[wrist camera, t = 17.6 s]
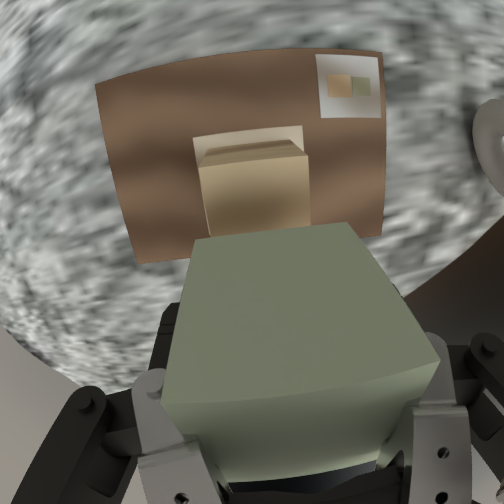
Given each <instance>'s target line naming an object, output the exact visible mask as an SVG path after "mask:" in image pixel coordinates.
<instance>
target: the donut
mask: <svg viewBox="0 0 504 504" xmlns="http://www.w3.org/2000/svg"><path fill="white" fill-rule="evenodd" d="M472 134H473V143H474V147H475V151H476V155H477V158H478V160H479V163H480V165H481V167H482V170H483V171H484V173H485V175H486V176H487V178H488V180H489V182H490V183H491V184H492V185H493V186H494V188H495V189H496V190H497V191H498V192H499V193H500V194H501V195H502V196H504V147H503V143H502V137H503V136H504V99H490V100H488V101H487V102H485V103H484V104H482V105H481V106H480V107H479V109H478V111H477V113H476V115H475V117H474V119H473V128H472Z"/></svg>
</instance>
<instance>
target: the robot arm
mask: <svg viewBox="0 0 504 504" xmlns="http://www.w3.org/2000/svg"><path fill="white" fill-rule="evenodd" d="M392 284H393V283H392ZM393 285H394V284H393ZM394 287H395V285H394ZM395 288H396V287H395ZM396 290H397V288H396ZM397 291H398V290H397ZM182 292H183V291H182ZM398 293H399V291H398ZM399 294H400V293H399ZM181 297H182V295H181ZM401 297H402V296H401ZM402 299H403V297H402ZM403 300H404V299H403ZM180 301H181V300H180ZM404 302H405V300H404ZM406 305H407V304H406ZM179 306H180V302H178V303H171V304H170V305H169V306H168V307H167V309H166V310H165V311H164V312H163V314H162V317H161V321H160V327H159V329H158V333H157V336H156V340H155V344H154V348H153V352H152V356H151V360H150V364H149V369H148V371H146V372H144V373H142V374H141V375H140V376H139V377H138V378H137V379H136V380H135V382H134V383H133V386H132V388H131V389H128V390H125V391H121V392H117V393H113V394H109V395H105V393H104V392H103V391H102V390H101V389H100V388H98V387H96V386H85V387H82V388H79V389H78V390H76V391H75V392H74V393H73V394H72V395H71V396H70V398H69V399H68V401H67V402H66V404H65V405H64V407H63V409H62V410H61V412H60V414H59V415H58V417H57V419H56V420H55V422H54V424H53V425H52V427H51V429H50V430H49V432H48V434H47V436H46V438H45V439H44V441H43V443H42V444H41V447H40V448H39V450H38V452H37V453H36V455H35V457H34V459H33V461H32V463H31V464H30V467H29V468H28V470H27V472H26V474H25V476H24V478H23V480H22V482H21V484H20V486H19V488H18V490H17V492H16V494H15V496H14V498H13V500H12V502H11V504H121V502H122V499H123V497H124V495H125V492H126V490H127V488H128V485H129V483H130V480H131V478H132V476H133V473H134V471H135V469H136V466H137V464H138V468H139V473H140V476H141V481H142V484H143V488H144V492H145V495H146V499H147V502H148V504H480V503H478V502H476V501H474V500H472V456H471V444H472V445H473V446H474V448H475V449H476V450H477V451H478V453H479V454H480V455H481V457H482V458H483V459H484V461H485V462H486V464H487V465H488V466H489V467H490V469H491V470H492V472H493V473H494V474H495V476H496V477H497V479H498V480H499V481H500V483H501V485H500V489H499V490H498V491H497V494H496V499H497V501H498V502H503V504H504V416H503V415H502V414H501V412H500V411H499V410H498V409H497V408H496V406H495V405H494V404H493V403H492V402H491V401H490V400H489V398H488V397H487V396H486V395H485V394H484V393H483V391H484V390H485V389H486V388H487V389H488V390H489V392H490V393H491V394H492V395H493V396H494V397H495V398H496V399H497V401H498V402H499V403H500V404H501V405H502V406H503V407H504V342H503V341H502V340H501V339H499V338H498V337H497V336H495V335H493V334H491V333H487V332H482V333H478V334H476V335H475V336H474V337H473V338H472V340H471V342H470V344H469V345H446V344H445V342H444V341H443V340H442V339H441V338H440V337H438V336H437V335H435V334H432V333H429V332H425V331H424V330H423V328H422V327H421V328H422V330H423V331H424V333H425V335H426V336H427V338H428V339H429V341H430V343H431V344H432V346H433V348H434V349H435V351H436V353H437V355H438V356H439V358H440V360H441V361H440V363H439V365H438V367H437V369H436V371H435V373H434V375H433V377H432V379H431V381H430V382H429V384H428V386H427V388H426V390H425V392H424V393H423V395H422V397H419V398H416V399H413V400H410V401H407V402H406V403H405V405H404V407H403V409H402V411H401V415H400V421H399V424H398V427H397V429H396V430H395V432H394V433H393V435H392V437H390V438H386V439H385V440H384V441H383V443H382V445H381V449H380V453H379V456H378V459H377V462H376V467H375V471H373V472H370V473H366V474H363V475H359V476H356V477H354V478H352V479H350V480H348V481H346V482H344V483H342V484H340V485H338V486H335V487H333V488H331V489H329V490H326V491H324V492H322V493H319V494H300V493H288V492H278V491H263V492H249V493H248V492H247V493H232V491H231V489H230V487H229V486H228V483H227V481H226V480H225V478H224V476H223V474H222V472H221V470H220V468H219V467H218V465H214V463H213V462H212V460H211V459H210V458H209V456H208V454H207V452H206V450H205V448H204V446H203V443H202V442H201V440H200V438H199V437H198V435H197V434H181V433H180V432H179V430H178V429H177V427H176V426H175V425H174V423H173V422H172V420H171V419H170V417H169V416H168V414H167V413H166V411H165V410H164V408H163V407H162V405H161V403H160V402H161V396H162V391H163V385H164V380H165V374H166V369H167V364H168V358H169V353H170V348H171V343H172V338H173V333H174V329H175V324H176V319H177V315H178V310H179ZM407 306H408V305H407ZM408 308H409V306H408ZM409 309H410V308H409ZM410 311H411V309H410ZM411 312H412V311H411ZM412 314H413V313H412ZM413 315H414V314H413ZM414 317H415V316H414ZM415 319H416V317H415ZM416 320H417V319H416ZM417 322H418V320H417ZM418 323H419V322H418ZM419 325H420V323H419ZM420 326H421V325H420Z"/></svg>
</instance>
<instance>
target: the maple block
mask: <svg viewBox="0 0 504 504" xmlns="http://www.w3.org/2000/svg"><path fill="white" fill-rule="evenodd" d="M198 170H199V176H200V181H201V187H202V193H203V198H204V204H205V210H206V215H207V220H208V226H209V231H210V236H211V237H219V236H227V235H235V234H244V233H252V232H260V231H269V230H278V229H286V228H295V227H304V226H311V213H310V185H309V164H308V155H307V154H306V153H305V152H303V151H302V150H301V149H300V148H299V147H298V146H297V145H296V144H294V143H293V142H292V141H291V140H290V139H289V140H277V141H266V142H257V143H248V144H239V145H231V146H224V147H216V148H209V149H208V150H207V152H206V154H205V156H204V158H203V159H202V161H201V163H200V165H199V167H198Z"/></svg>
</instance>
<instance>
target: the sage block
mask: <svg viewBox="0 0 504 504" xmlns="http://www.w3.org/2000/svg"><path fill="white" fill-rule="evenodd" d="M440 361H441V360H440V358H439V356H438V355H437V353H436V351H435V349H434V348H433V346H432V344H431V343H430V341H429V339H428V338H427V336H426V335H425V333H424V331H423V330H422V328H421V326H420V325H419V323H418V322H417V320H416V319H415V317H414V315H413V314H412V312H411V311H410V309H409V308H408V306H407V305H406V303H405V302H404V300H403V299H402V297H401V296H400V294H399V293H398V291H397V290H396V288H395V287H394V285H393V284H392V282H391V281H390V279H389V278H388V277H387V275H386V274H385V272H384V271H383V269H382V268H381V267H380V265H379V264H378V262H377V261H376V260H375V258H374V257H373V256H372V254H371V253H370V251H369V250H368V249H367V247H366V246H365V245H364V243H363V242H362V241H361V239H360V238H359V237H358V235H357V234H356V233H355V231H354V230H353V229H352V228H351V226H350V225H349V224H348V222H341V223H332V224H323V225H313V226H304V227H295V228H286V229H278V230H269V231H260V232H252V233H244V234H235V235H227V236H219V237H211V238H203V239H195V243H194V247H193V251H192V255H191V259H190V263H189V267H188V271H187V275H186V279H185V284H184V288H183V292H182V297H181V301H180V306H179V310H178V315H177V319H176V324H175V329H174V333H173V338H172V343H171V348H170V353H169V358H168V364H167V369H166V374H165V380H164V385H163V391H162V396H161V402H160V403H161V405H162V407H163V408H164V410H165V411H166V413H167V414H168V416H169V417H170V419H171V420H172V422H173V423H174V425H175V426H176V427H177V429H178V430H179V432H180V433H181V434H197V435H198V437H199V438H200V440H201V442H202V443H203V446H204V448H205V450H206V452H207V454H208V456H209V458H210V459H211V460H212V462H213V463H214V465H218V467H219V468H220V470H221V472H222V474H223V476H224V478H225V480H226V481H227V482H244V481H259V480H271V479H280V478H289V477H296V476H302V475H309V474H315V473H321V472H326V471H331V470H336V469H340V468H345V467H349V466H353V465H357V464H362V463H365V462H369V461H372V460H376V459H378V456H379V453H380V449H381V445H382V443H383V441H384V440H385V439H386V438H390V437H392V435H393V433H394V432H395V430H396V429H397V427H398V424H399V421H400V415H401V411H402V409H403V407H404V405H405V403H406V402H407V401H410V400H413V399H416V398H419V397H422V395H423V393H424V392H425V390H426V388H427V386H428V384H429V382H430V381H431V379H432V377H433V375H434V373H435V371H436V369H437V367H438V365H439V363H440Z"/></svg>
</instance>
